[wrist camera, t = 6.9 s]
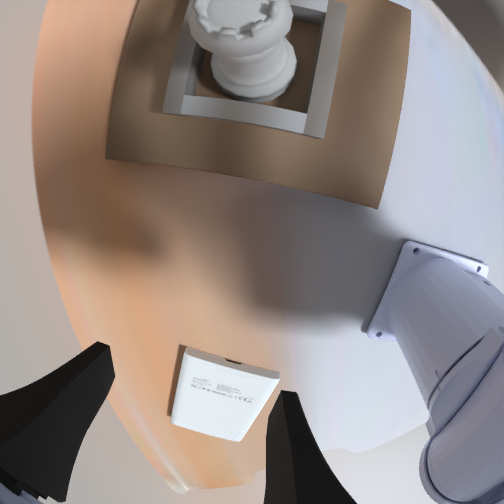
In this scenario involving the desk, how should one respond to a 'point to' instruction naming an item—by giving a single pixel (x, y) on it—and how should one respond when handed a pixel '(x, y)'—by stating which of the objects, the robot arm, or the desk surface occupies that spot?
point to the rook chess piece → (247, 45)
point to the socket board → (269, 112)
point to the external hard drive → (220, 394)
